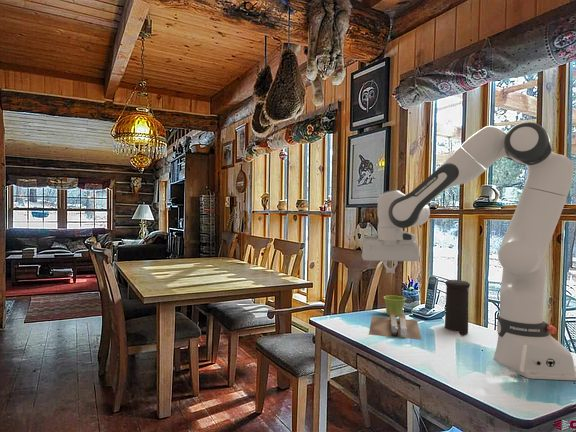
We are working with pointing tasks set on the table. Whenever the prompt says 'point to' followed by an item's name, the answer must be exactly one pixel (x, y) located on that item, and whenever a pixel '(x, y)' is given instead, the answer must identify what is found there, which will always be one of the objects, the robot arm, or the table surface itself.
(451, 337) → the table surface
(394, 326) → the loose tong leg
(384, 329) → the walnut board
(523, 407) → the table surface
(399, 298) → the plant pot
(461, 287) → the container
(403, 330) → the fixed tong leg
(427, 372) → the table surface
